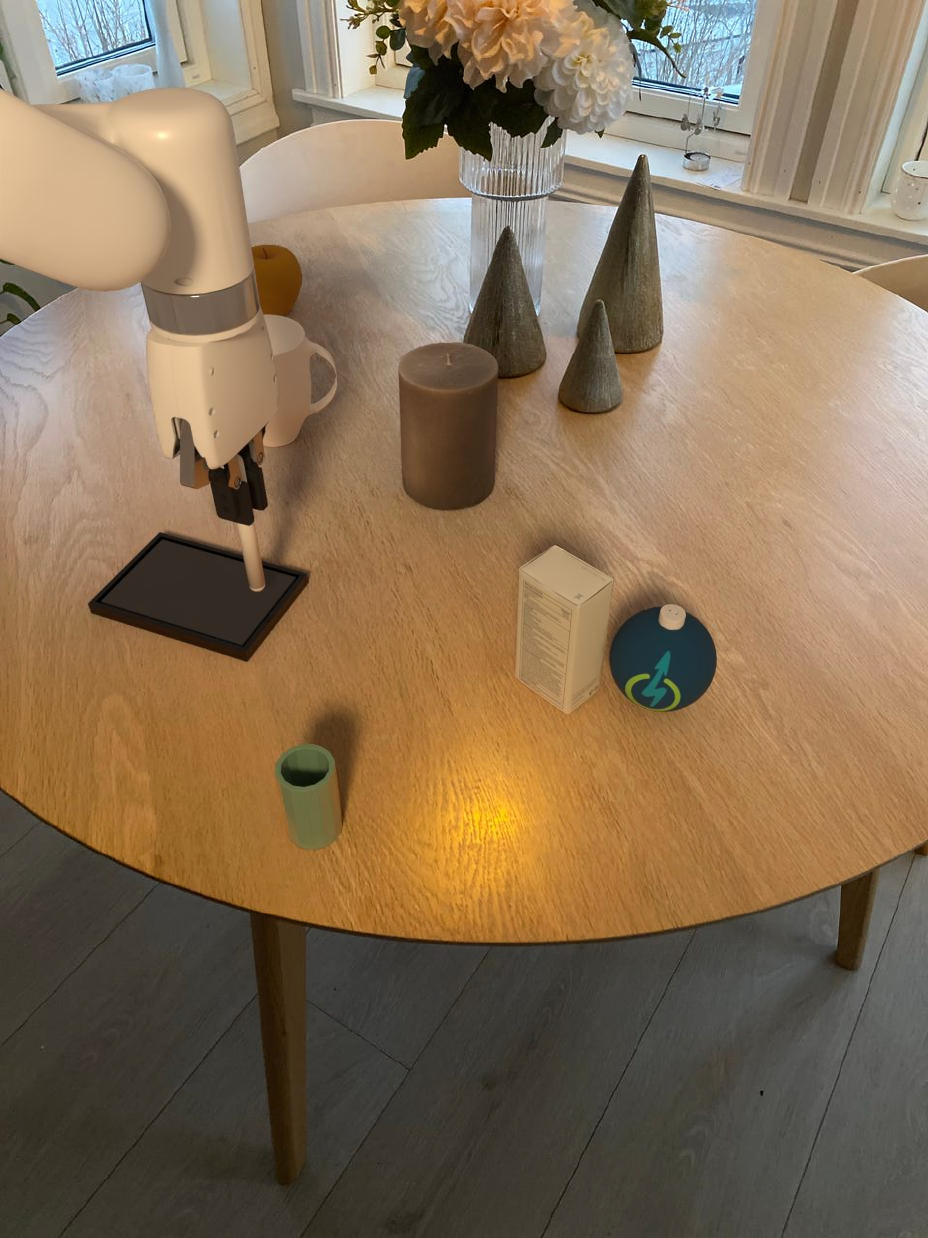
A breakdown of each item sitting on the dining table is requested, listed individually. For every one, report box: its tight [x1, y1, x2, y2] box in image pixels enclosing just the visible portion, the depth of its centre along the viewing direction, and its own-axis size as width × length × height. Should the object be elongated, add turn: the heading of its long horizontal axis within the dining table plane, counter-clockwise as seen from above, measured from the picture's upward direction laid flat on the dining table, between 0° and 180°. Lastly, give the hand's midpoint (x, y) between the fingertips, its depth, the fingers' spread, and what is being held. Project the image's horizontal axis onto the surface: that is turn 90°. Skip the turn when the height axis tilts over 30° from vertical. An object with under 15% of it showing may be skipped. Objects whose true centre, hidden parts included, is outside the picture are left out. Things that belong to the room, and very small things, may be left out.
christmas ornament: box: [608, 603, 718, 713], centre depth 76 cm, size 8×8×10 cm
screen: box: [101, 540, 296, 647], centre depth 86 cm, size 14×9×1 cm, turn 69°
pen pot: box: [274, 743, 343, 851], centre depth 67 cm, size 4×4×7 cm
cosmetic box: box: [514, 544, 615, 716], centre depth 76 cm, size 6×4×12 cm
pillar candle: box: [397, 341, 499, 511], centre depth 95 cm, size 10×10×15 cm
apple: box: [251, 244, 303, 317], centre depth 125 cm, size 8×8×9 cm
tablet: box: [87, 531, 309, 663], centre depth 87 cm, size 16×11×1 cm
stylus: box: [236, 454, 265, 592], centre depth 79 cm, size 1×1×14 cm
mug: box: [263, 315, 338, 448], centre depth 103 cm, size 12×9×12 cm
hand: (242, 511), depth 78 cm, fingers closed on stylus, 1 cm apart
